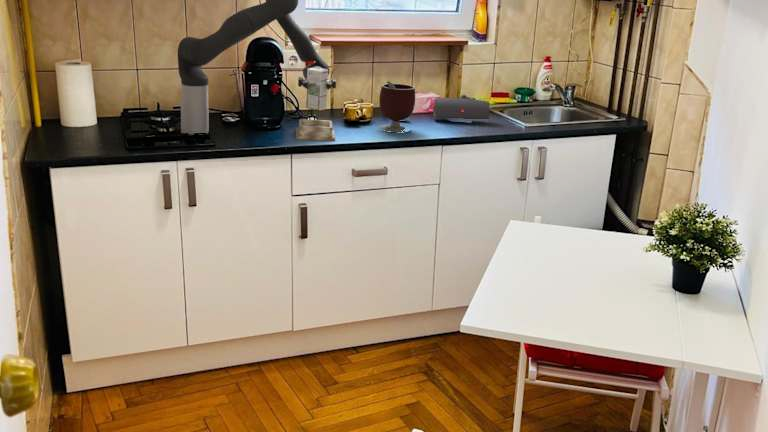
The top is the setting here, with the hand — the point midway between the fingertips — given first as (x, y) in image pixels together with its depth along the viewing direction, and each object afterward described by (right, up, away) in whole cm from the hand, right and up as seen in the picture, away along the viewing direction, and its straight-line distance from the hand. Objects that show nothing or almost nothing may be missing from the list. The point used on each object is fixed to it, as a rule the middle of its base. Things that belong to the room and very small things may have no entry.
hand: (317, 86), depth 276 cm
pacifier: (+31, -7, +43) cm, 54 cm away
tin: (+13, -8, +39) cm, 42 cm away
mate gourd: (+28, -13, +26) cm, 40 cm away
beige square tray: (-1, -17, +8) cm, 19 cm away
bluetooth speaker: (+56, -7, +49) cm, 75 cm away
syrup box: (-1, -8, +5) cm, 9 cm away
